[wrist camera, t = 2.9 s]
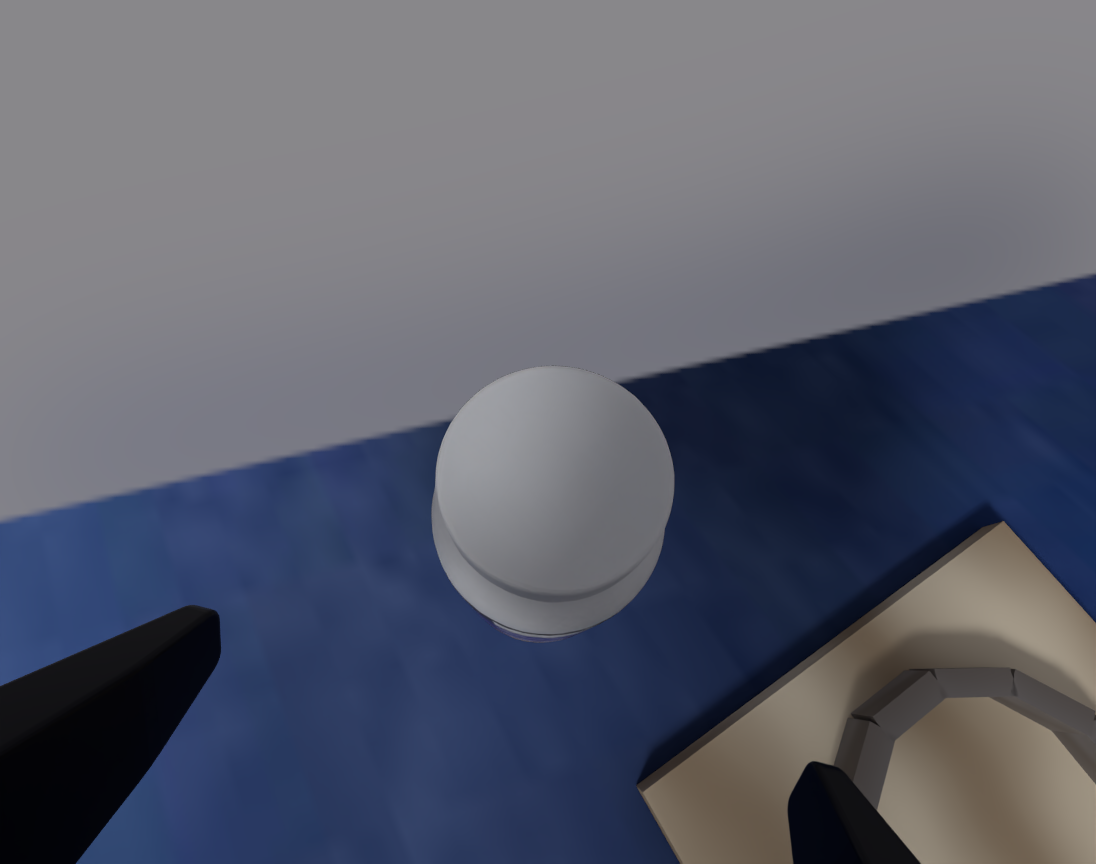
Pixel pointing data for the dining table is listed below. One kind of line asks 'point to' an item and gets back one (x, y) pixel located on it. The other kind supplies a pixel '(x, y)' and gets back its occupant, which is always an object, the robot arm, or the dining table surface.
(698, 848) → the collar board
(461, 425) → the pill bottle
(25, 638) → the dining table surface
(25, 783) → the robot arm
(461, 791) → the dining table surface
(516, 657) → the dining table surface
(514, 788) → the dining table surface
